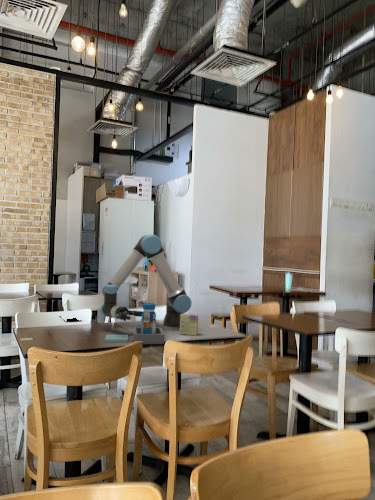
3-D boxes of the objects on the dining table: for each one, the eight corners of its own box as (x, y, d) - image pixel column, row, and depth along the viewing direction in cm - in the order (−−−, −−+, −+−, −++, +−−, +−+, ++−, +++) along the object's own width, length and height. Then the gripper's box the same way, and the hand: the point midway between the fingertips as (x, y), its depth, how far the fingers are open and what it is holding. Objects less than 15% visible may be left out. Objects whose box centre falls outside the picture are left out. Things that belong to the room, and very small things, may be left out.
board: (127, 337, 226) (128, 334, 226) (127, 342, 215) (128, 339, 215) (106, 337, 225) (106, 334, 225) (105, 342, 213) (105, 339, 213)
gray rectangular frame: (160, 335, 233) (161, 327, 233) (164, 343, 213) (164, 334, 213) (133, 335, 231) (133, 327, 231) (133, 344, 211) (134, 334, 211)
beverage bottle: (137, 339, 223) (138, 303, 223) (150, 337, 228) (151, 302, 228) (145, 342, 216) (146, 305, 216) (158, 340, 221) (159, 304, 221)
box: (197, 333, 243) (198, 314, 243) (196, 335, 237) (197, 315, 237) (180, 332, 244) (181, 313, 244) (179, 334, 238) (180, 314, 238)
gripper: (136, 316, 247) (160, 321, 233) (102, 321, 228) (126, 326, 214) (136, 304, 247) (160, 308, 233) (102, 308, 229) (126, 312, 214)
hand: (144, 317), depth 224 cm, fingers open, 13 cm apart
